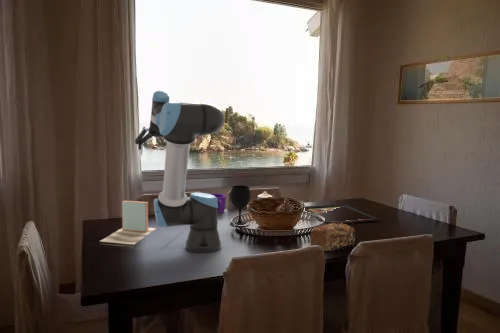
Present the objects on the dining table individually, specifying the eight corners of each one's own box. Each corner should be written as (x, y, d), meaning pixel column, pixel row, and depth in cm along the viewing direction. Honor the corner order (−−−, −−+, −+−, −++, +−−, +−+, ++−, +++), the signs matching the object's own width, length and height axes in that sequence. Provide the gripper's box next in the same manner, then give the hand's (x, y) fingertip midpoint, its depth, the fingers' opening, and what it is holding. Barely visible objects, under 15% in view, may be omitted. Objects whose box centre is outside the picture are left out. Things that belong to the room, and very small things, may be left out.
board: (125, 228, 188) (125, 225, 188) (156, 230, 186) (156, 228, 186) (99, 244, 165) (99, 241, 165) (134, 247, 163) (134, 244, 162)
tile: (124, 229, 183) (124, 200, 181) (148, 230, 181) (148, 202, 179) (122, 230, 181) (121, 201, 179) (146, 232, 179) (145, 203, 177)
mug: (203, 210, 228) (203, 193, 226) (221, 209, 232) (222, 192, 231) (212, 217, 212) (212, 200, 210) (231, 216, 216) (231, 199, 215)
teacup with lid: (274, 212, 227) (274, 193, 226) (259, 213, 225) (260, 193, 223) (267, 207, 239) (268, 189, 237) (253, 208, 236) (254, 189, 235)
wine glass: (226, 225, 198) (227, 187, 195) (234, 220, 207) (235, 184, 205) (244, 228, 194) (245, 189, 191) (252, 223, 204) (253, 186, 201)
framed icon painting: (295, 210, 235) (295, 206, 235) (341, 206, 250) (341, 202, 249) (332, 228, 201) (333, 223, 200) (383, 222, 216) (384, 217, 215)
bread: (325, 253, 162) (326, 230, 160) (308, 245, 171) (309, 224, 169) (355, 246, 172) (357, 224, 171) (338, 239, 181) (339, 219, 179)
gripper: (182, 116, 193) (177, 148, 206) (130, 115, 183) (129, 148, 197) (185, 125, 188) (179, 157, 201) (132, 125, 178) (130, 158, 192)
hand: (154, 153), depth 199 cm, fingers open, 13 cm apart
